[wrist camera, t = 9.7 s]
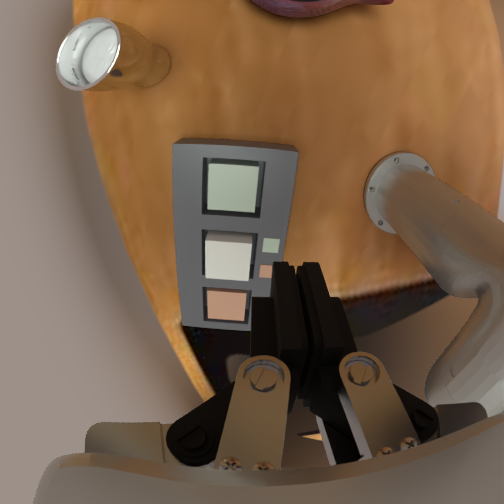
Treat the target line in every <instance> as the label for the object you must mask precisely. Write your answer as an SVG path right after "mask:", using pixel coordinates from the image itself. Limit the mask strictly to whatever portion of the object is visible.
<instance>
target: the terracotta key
mask: <svg viewBox="0 0 504 504" xmlns="http://www.w3.org/2000/svg"><path fill="white" fill-rule="evenodd" d="M246 294H247V290H241V289H227V288H214V287H208V289H207V303H208V318H212V319H225V320H238V321H244V315H245V305H246Z"/></svg>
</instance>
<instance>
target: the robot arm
mask: <svg viewBox="0 0 504 504" xmlns="http://www.w3.org/2000/svg"><path fill="white" fill-rule="evenodd" d="M394 159H395V160H394ZM370 187H371V189H370ZM364 205H365V208H366V212H367V214H368V216H369V218H370V219H371V220H372V222H373V223H374V224H375V225H376V226H377V227H378V228H379V229H381V230H383V231H385V232H387V233H392V234H398V235H399V237H400V238H401V239H402V240H403V241H404V242H405V244H406V245H407V246H408V247H409V248H410V249H411V251H412V252H413V253H414V254H415V256H416V257H417V258H418V259H419V260H420V262H421V263H422V264H423V265H424V267H425V268H426V269H427V270H428V272H429V273H430V274H431V275H432V277H433V278H434V279H435V281H436V282H437V283H438V285H439V286H440V287H441V288H442V289H443V290H444V291H445V292H447V293H448V294H450V295H452V296H455V297H459V298H469V299H470V298H479V300H478V304H477V306H476V308H475V309H474V311H473V313H472V314H471V316H470V317H469V319H468V321H467V322H466V323H465V325H464V326H463V327H462V329H461V330H460V331H459V333H458V334H457V335H456V336H455V338H454V339H453V340H452V341H451V343H450V344H449V345H448V346H447V348H446V349H445V350H444V352H443V353H442V354H441V355H440V356H439V358H438V359H437V360H436V361H435V363H434V364H433V366H432V367H431V369H430V371H429V373H428V375H427V378H426V381H425V387H424V393H425V399H426V402H424V401H423V400H421V399H419V398H417V397H416V396H414V395H412V394H410V393H408V392H407V391H405V390H403V389H402V388H400V387H398V386H396V385H394V384H393V383H392V382H391V380H390V378H389V376H388V374H387V372H386V371H385V368H384V366H383V365H382V363H381V362H380V361H379V360H378V359H377V358H376V357H375V356H373V355H371V354H369V353H364V352H358V351H357V348H356V345H355V342H354V339H353V336H352V333H351V330H350V326H349V323H348V320H347V317H346V315H345V312H344V309H343V306H342V303H341V300H340V298H338V297H330V295H329V292H328V289H327V286H326V283H325V280H324V277H323V274H322V271H321V268H320V265H319V263H318V262H303V265H302V266H298V267H297V272H296V274H295V269H294V266H289V263H288V262H277V261H273V265H272V277H271V290H270V297H252V303H251V345H250V359H248V360H246V361H245V362H244V363H243V364H242V365H241V366H240V368H239V370H238V373H237V377H236V380H235V381H234V382H233V383H231V384H230V385H229V386H227V387H226V388H224V389H223V390H222V391H220V392H219V393H217V394H216V395H214V396H213V397H211V398H210V399H209V400H207V401H206V402H204V403H203V404H201V405H200V406H198V407H197V408H195V409H194V410H192V411H191V412H189V413H188V414H186V415H185V416H183V417H182V418H180V419H178V420H177V421H175V422H174V423H172V424H160V422H143V423H118V422H101V423H96V424H94V425H93V426H91V427H90V429H89V430H88V431H87V434H86V438H85V453H75V454H69V455H64V456H61V457H58V458H56V459H55V460H53V461H52V462H51V463H50V464H49V465H48V467H47V468H46V470H45V471H44V474H43V475H42V478H41V480H40V482H39V485H38V488H37V491H36V494H35V498H34V502H33V504H504V223H503V222H502V221H501V220H499V219H498V218H496V217H495V216H494V215H492V214H491V213H490V212H488V211H487V210H485V209H484V208H483V207H481V206H480V205H478V204H477V203H476V202H474V201H473V200H471V199H470V198H468V197H467V196H465V195H464V194H462V193H461V192H459V191H458V190H456V189H454V188H453V187H451V186H450V185H448V184H446V183H445V182H443V181H442V180H440V179H438V178H437V177H435V174H434V171H433V170H432V168H431V166H430V165H429V164H428V162H427V161H426V160H424V159H423V158H422V157H420V156H418V155H416V154H414V153H410V152H396V153H393V154H390V155H388V156H386V157H385V158H383V159H382V160H380V161H379V162H378V163H377V164H376V165H375V167H374V168H373V170H372V171H371V172H370V174H369V177H368V179H367V181H366V185H365V189H364ZM296 395H297V397H298V399H303V405H304V407H307V406H310V411H311V412H312V413H314V414H315V415H316V419H317V423H318V427H319V430H320V433H321V436H322V440H323V443H324V446H325V450H326V453H327V456H328V459H329V463H330V466H325V467H316V468H307V469H294V470H280V466H281V459H282V451H283V442H284V436H285V427H286V419H287V415H288V414H289V413H290V412H291V410H292V407H293V404H294V401H295V398H296Z"/></svg>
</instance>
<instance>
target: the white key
mask: <svg viewBox="0 0 504 504" xmlns="http://www.w3.org/2000/svg"><path fill="white" fill-rule="evenodd" d="M251 250H252V233H248V232H235V231H221V230H208V233H207V236H206V240H205V276H206V278H212V279H225V280H238V281H248V280H249V270H250V260H251Z"/></svg>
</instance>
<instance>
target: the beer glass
mask: <svg viewBox="0 0 504 504" xmlns="http://www.w3.org/2000/svg"><path fill="white" fill-rule="evenodd" d="M170 65H171V59H170V55H169V53H168V52H167V50H166V49H165V48H163V47H162V46H159V45H156V44H150V43H149V41H148V40H147V39H146V38H145V37H144V36H143V35H142V34H141V33H140V32H139V31H138V30H136V29H134V28H133V27H131V26H129V25H126V24H124V23H121V22H117V21H113V20H109V19H107V18H103V17H95V18H91V19H88V20H85V21H83V22H81V23H80V24H78V25H77V26H75V27H74V28H73V29H72V30H71V31H70V32H69V33H68V34H67V36H66V37H65V38H64V40H63V42H62V43H61V45H60V48H59V50H58V53H57V57H56V73H57V76H58V78H59V80H60V82H61V83H62V84H63V85H64V86H65V87H66V88H68V89H71V90H76V91H80V90H83V91H113V90H117V89H121V88H125V87H127V86H130V85H135V86H137V87H142V88H146V87H151V86H154V85H156V84H158V83H159V82H161V81H162V80H163V79H164V78H165V77H166V75H167V74H168V72H169V69H170Z"/></svg>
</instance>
